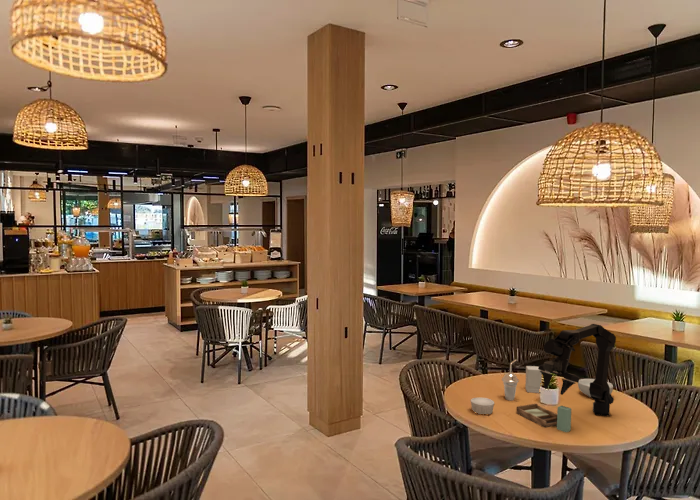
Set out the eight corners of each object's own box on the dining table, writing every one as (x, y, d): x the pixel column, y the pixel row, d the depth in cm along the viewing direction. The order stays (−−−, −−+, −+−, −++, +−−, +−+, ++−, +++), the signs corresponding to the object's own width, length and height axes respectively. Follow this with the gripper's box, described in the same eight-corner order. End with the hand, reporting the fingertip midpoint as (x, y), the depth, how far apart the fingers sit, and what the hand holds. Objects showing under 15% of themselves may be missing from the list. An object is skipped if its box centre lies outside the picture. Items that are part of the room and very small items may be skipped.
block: (561, 427, 232) (561, 405, 232) (570, 430, 229) (571, 408, 228) (556, 429, 230) (557, 407, 229) (566, 432, 226) (567, 410, 226)
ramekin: (474, 406, 258) (474, 395, 257) (496, 410, 252) (497, 399, 252) (467, 413, 248) (467, 402, 248) (490, 417, 242) (490, 406, 242)
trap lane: (565, 423, 236) (565, 416, 236) (544, 427, 232) (545, 420, 231) (535, 409, 253) (536, 403, 253) (516, 413, 249) (516, 406, 248)
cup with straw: (497, 396, 271) (499, 359, 270) (513, 395, 274) (514, 358, 272) (507, 402, 263) (508, 363, 262) (522, 401, 265) (523, 362, 264)
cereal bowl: (619, 397, 273) (619, 384, 272) (601, 403, 263) (602, 390, 263) (588, 388, 287) (589, 376, 286) (570, 394, 277) (571, 381, 277)
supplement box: (541, 393, 278) (542, 370, 277) (526, 392, 279) (527, 369, 278) (539, 389, 285) (540, 366, 284) (525, 388, 286) (525, 365, 286)
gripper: (534, 349, 241) (525, 382, 239) (567, 359, 224) (557, 394, 223) (551, 354, 246) (542, 386, 244) (584, 364, 229) (574, 399, 227)
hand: (553, 391), depth 235 cm, fingers open, 9 cm apart
